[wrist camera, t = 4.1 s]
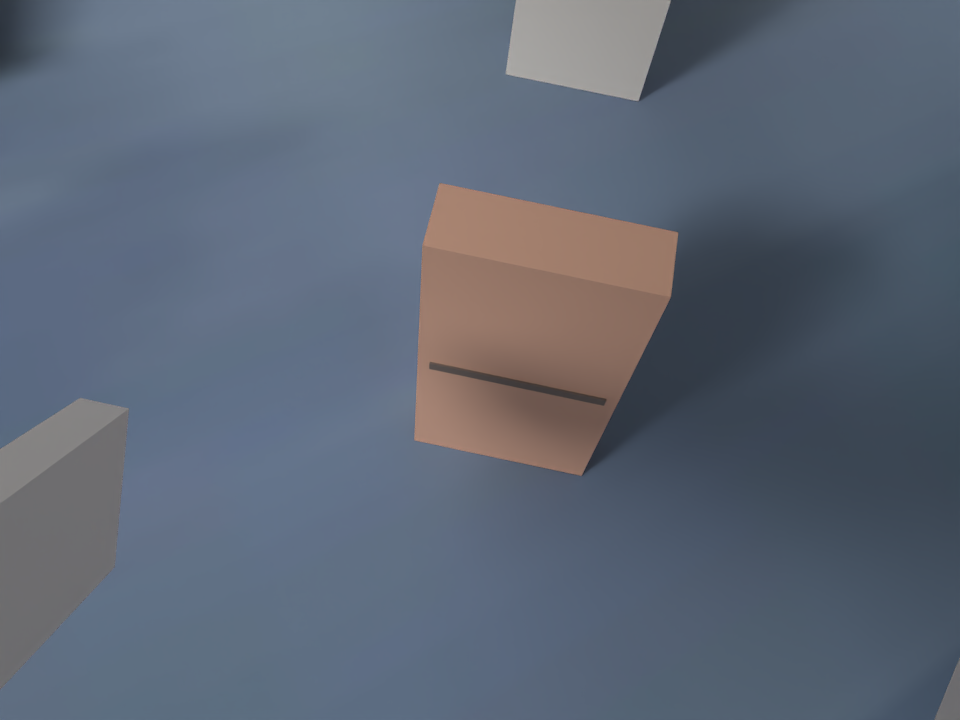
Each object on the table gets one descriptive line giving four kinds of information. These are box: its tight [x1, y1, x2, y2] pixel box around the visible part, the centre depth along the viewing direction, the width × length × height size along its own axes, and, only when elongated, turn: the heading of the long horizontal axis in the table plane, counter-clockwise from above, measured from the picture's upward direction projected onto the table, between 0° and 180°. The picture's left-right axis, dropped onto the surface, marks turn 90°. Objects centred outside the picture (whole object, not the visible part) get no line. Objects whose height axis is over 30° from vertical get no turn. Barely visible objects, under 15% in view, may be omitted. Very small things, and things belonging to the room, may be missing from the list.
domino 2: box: [415, 183, 678, 476], centre depth 23 cm, size 2×5×10 cm, turn 79°
